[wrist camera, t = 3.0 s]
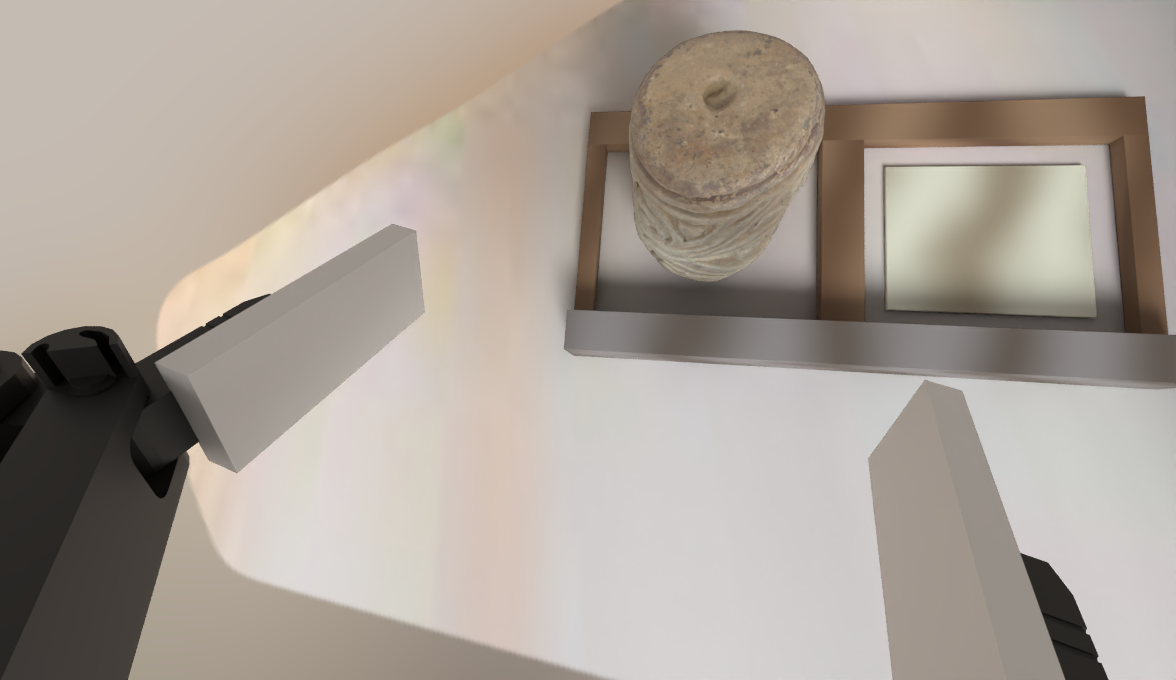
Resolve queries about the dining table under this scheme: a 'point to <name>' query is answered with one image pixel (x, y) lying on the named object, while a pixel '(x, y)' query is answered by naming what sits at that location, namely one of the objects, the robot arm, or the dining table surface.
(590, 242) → the rail board
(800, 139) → the carving
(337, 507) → the dining table surface
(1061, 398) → the dining table surface
